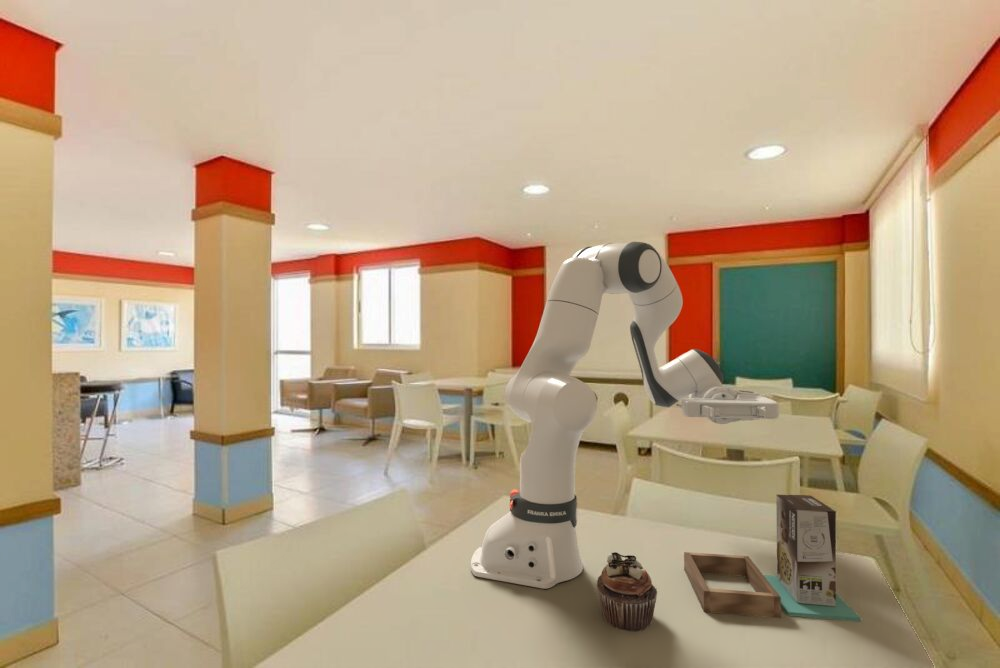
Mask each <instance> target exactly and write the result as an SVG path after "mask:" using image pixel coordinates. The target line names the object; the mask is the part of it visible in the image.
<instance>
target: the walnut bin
mask: <svg viewBox="0 0 1000 668" xmlns="http://www.w3.org/2000/svg"><path fill="white" fill-rule="evenodd" d="M683 570H684V572H685V574H686V577H687V579H688V581H689V584H690V585H691V587H692V590H693V592H694V594H695V596H696V598H697V600H698V602H699V604H700V607H701V608H702V610H703V612H705V613H712V614H713V613H715V614H726V615H727V614H728V615H740V616H749V617H751V616H752V617H762V618H763V617H764V618H775V619H782V617H781V615H782V613H781V611H782V607H781V597H780V595H779V594H778V593H777V592H776V590H775V589H774V588H773V587H772V585H771V584H770V583H769V582H768V580H767V579H766V578H765V576H764V575H765V574H764V573H762V572H761V570H760V568H759V567H758V566H757V565H756V563H754V561H753V560H752V559H751V558H750V556H749V555H732V554H721V553H720V554H719V553H718V554H717V553H703V552H701V553H700V552H688V551H685V552H683ZM702 574H705V575H720V576H733V577H734V576H735V577H744V578H745V579H746V580H747V581H748V583H749V585H750V586H751V587H752V589H753V590H754V591H748V590H735V589H734V590H733V589H723V588H720V589H719V588H709V586H708V584H707V582H706V581H705V579H704V577H703V575H702Z"/></svg>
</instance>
